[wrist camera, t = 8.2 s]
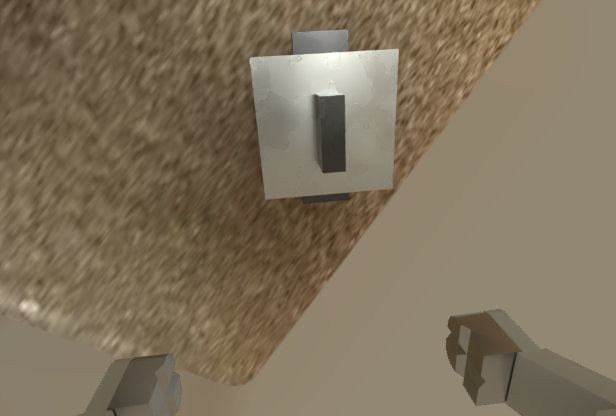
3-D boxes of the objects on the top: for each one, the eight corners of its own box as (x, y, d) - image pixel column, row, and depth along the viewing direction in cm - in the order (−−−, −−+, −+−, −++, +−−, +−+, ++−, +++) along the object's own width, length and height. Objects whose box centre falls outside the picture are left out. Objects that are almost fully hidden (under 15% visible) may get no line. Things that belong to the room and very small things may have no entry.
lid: (250, 57, 23) (246, 56, 20) (393, 49, 24) (412, 46, 21) (265, 195, 27) (264, 212, 24) (388, 184, 28) (403, 200, 25)
